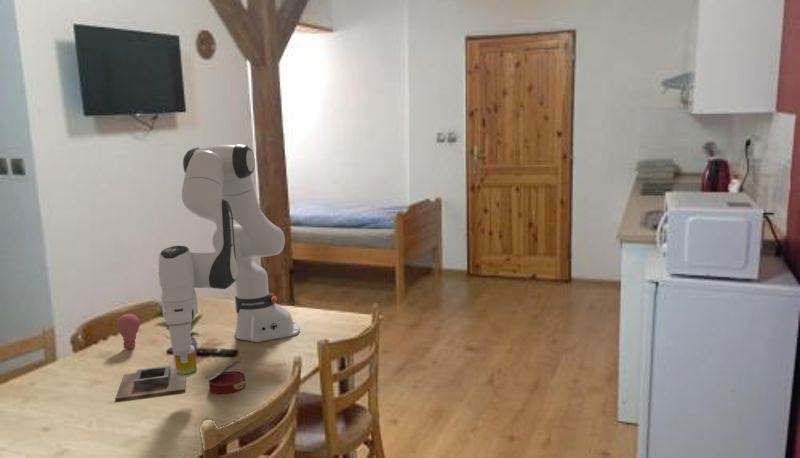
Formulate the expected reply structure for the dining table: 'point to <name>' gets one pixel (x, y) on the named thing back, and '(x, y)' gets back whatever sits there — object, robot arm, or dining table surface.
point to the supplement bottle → (186, 364)
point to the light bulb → (128, 329)
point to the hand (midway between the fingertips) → (185, 357)
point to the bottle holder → (150, 383)
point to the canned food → (227, 381)
